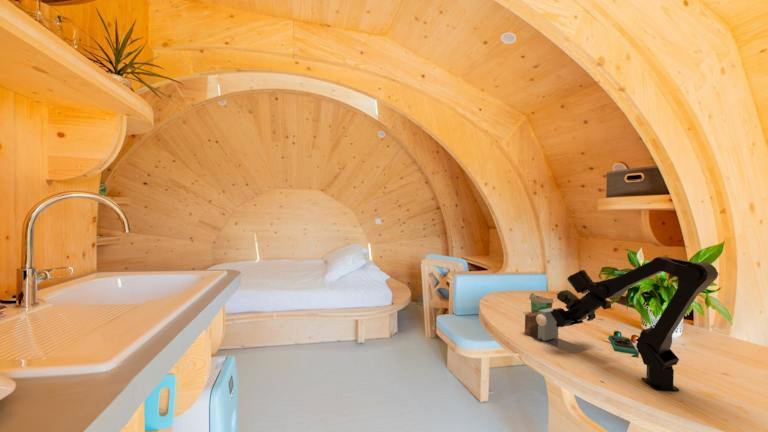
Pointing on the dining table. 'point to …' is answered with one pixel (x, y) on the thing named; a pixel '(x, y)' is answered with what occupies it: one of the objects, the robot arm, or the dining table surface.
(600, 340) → the dining table surface
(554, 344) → the base
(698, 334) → the dining table surface
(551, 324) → the gauge carriage
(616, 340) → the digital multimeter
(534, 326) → the brown wooden square slab
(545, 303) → the food container
